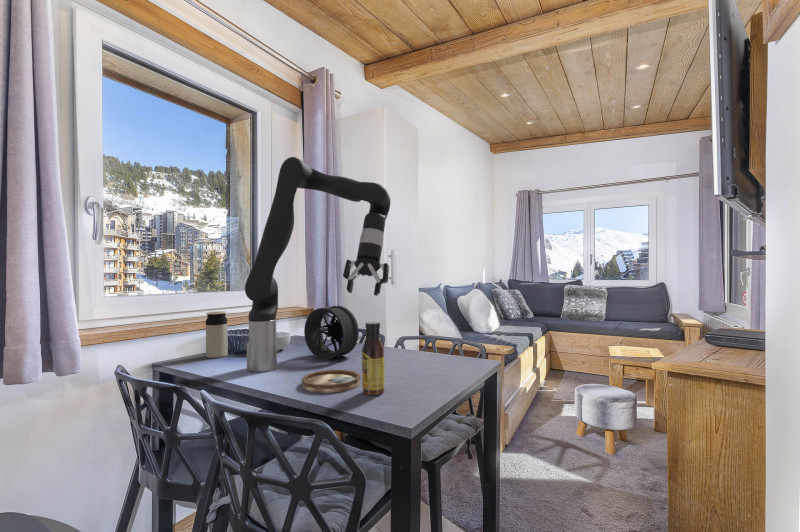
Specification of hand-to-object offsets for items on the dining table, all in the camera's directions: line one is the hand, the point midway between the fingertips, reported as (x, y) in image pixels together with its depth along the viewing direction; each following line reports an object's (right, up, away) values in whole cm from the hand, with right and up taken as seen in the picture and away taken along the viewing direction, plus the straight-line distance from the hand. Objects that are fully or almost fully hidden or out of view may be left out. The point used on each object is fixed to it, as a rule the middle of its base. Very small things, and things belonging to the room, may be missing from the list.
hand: (362, 294), depth 126 cm
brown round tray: (-9, -27, -4) cm, 29 cm away
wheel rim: (-15, -27, +32) cm, 45 cm away
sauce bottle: (+4, -27, -14) cm, 30 cm away
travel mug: (-63, -28, +38) cm, 79 cm away
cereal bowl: (-44, -28, +47) cm, 71 cm away
